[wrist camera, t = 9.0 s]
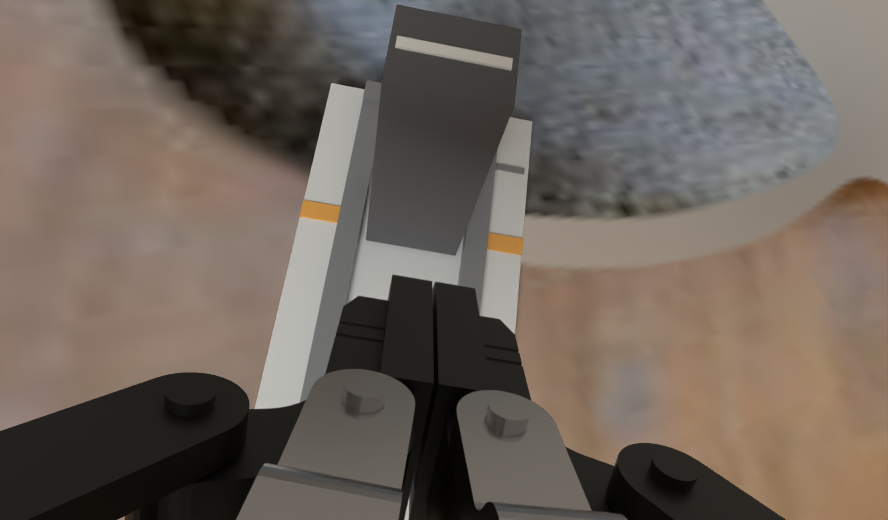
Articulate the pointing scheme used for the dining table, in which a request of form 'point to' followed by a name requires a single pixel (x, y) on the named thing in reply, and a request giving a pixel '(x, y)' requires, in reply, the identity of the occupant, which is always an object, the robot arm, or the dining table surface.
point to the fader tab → (438, 126)
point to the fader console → (382, 244)
